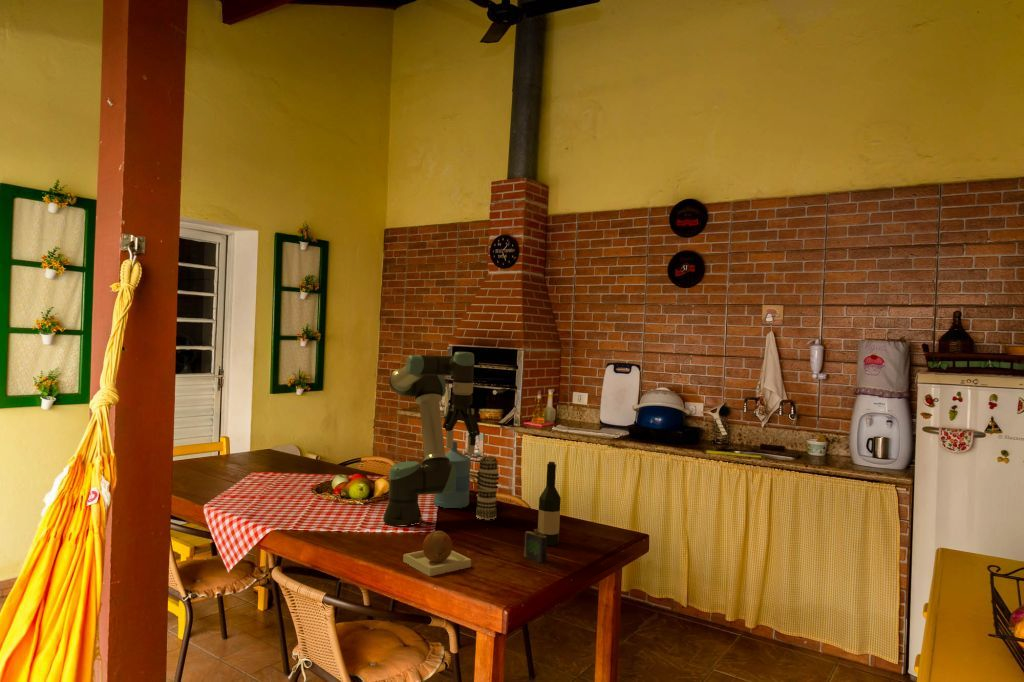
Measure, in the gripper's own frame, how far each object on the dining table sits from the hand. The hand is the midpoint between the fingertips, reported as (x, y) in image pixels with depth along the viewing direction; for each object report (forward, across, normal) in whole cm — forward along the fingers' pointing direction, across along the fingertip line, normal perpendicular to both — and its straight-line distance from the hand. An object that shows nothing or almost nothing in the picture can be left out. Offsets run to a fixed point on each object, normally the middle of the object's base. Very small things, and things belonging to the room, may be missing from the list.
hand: (459, 451), depth 254 cm
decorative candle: (+33, -18, +28) cm, 47 cm away
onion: (+32, +19, -21) cm, 43 cm away
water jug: (+33, -42, +27) cm, 60 cm away
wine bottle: (+33, +21, +27) cm, 47 cm away
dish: (+33, +19, -21) cm, 43 cm away
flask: (+33, +33, +10) cm, 48 cm away
